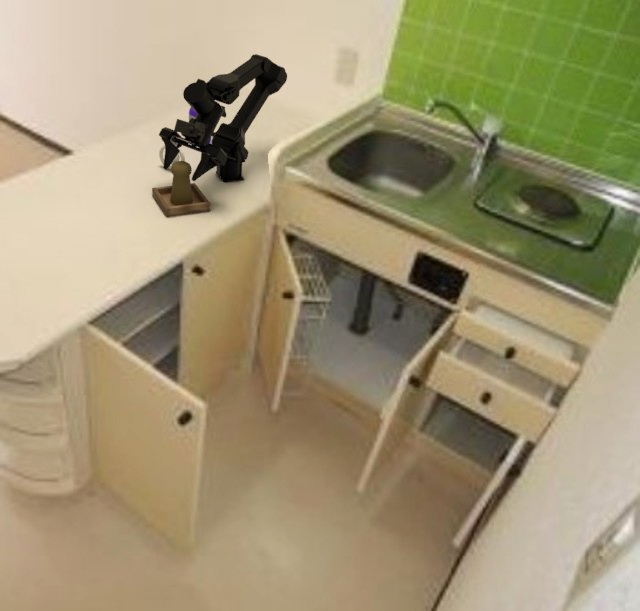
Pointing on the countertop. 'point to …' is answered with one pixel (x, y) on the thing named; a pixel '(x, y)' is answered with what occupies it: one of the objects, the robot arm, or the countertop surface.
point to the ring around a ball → (175, 157)
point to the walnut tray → (170, 210)
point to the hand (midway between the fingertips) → (178, 174)
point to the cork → (181, 184)
